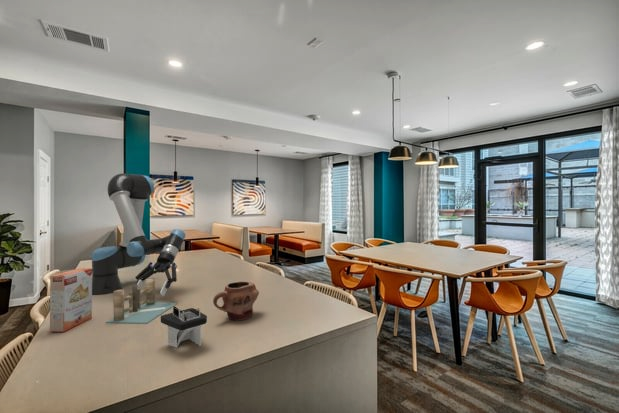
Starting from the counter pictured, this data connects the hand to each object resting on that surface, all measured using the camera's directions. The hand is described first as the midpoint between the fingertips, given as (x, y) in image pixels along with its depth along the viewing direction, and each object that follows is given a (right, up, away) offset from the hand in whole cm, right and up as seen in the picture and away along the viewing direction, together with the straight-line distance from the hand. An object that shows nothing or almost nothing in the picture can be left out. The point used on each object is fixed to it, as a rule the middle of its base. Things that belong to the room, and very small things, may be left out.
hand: (148, 294), depth 139 cm
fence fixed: (-2, -6, -13) cm, 14 cm away
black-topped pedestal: (+33, -6, -39) cm, 52 cm away
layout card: (+3, -6, -8) cm, 10 cm away
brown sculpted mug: (+44, -6, -15) cm, 47 cm away
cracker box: (-18, -6, -21) cm, 29 cm away
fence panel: (0, -5, -1) cm, 5 cm away
